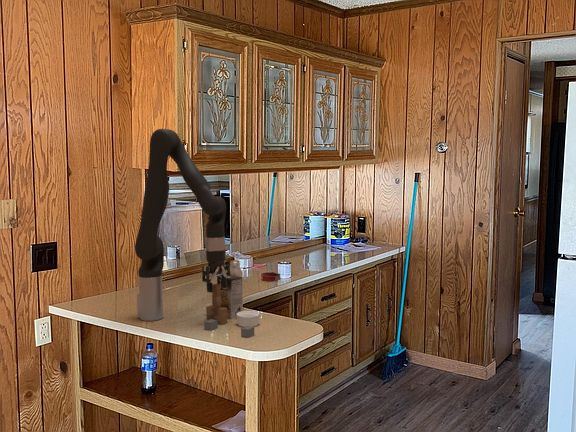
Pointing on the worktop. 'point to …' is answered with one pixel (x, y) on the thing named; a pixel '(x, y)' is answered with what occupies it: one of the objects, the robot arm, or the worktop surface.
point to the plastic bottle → (236, 270)
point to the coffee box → (232, 295)
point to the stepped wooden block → (216, 307)
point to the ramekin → (247, 318)
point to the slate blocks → (245, 331)
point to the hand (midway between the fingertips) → (216, 289)
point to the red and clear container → (270, 276)
